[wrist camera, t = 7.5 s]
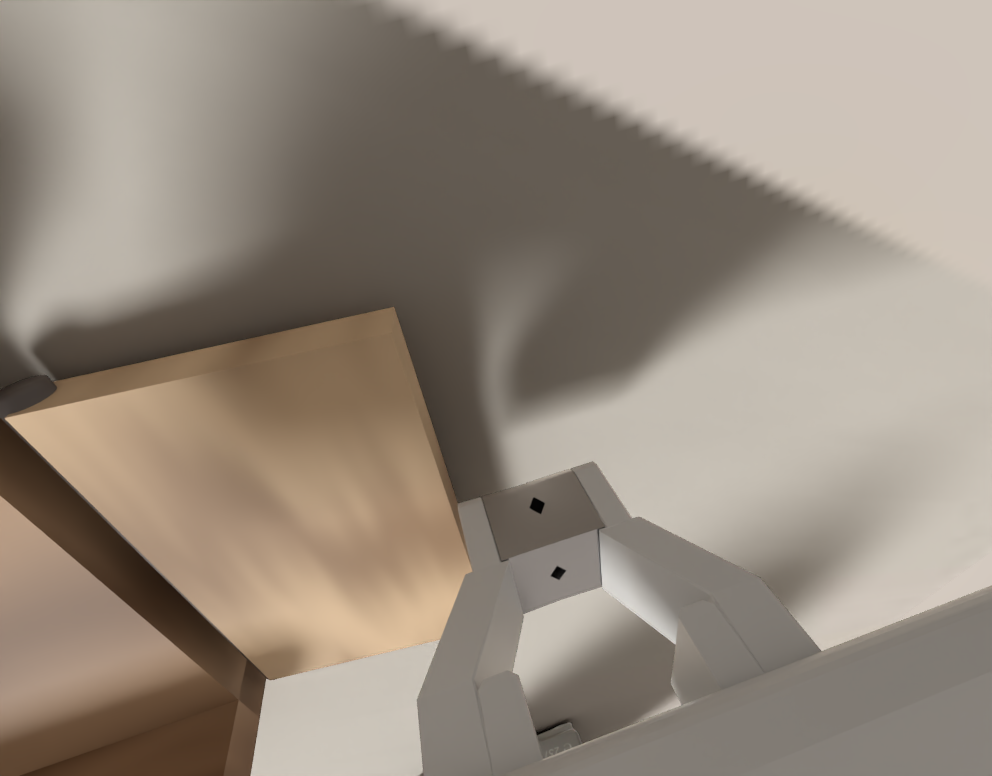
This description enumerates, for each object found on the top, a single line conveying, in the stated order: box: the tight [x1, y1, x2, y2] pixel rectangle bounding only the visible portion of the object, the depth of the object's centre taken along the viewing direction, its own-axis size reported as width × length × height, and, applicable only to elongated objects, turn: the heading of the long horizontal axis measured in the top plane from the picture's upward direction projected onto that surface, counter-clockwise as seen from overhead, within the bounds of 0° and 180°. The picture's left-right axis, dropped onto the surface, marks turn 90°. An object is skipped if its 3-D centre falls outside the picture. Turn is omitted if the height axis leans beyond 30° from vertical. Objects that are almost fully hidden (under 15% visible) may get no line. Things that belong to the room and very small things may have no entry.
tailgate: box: [0, 307, 472, 680], centre depth 10 cm, size 9×1×6 cm
